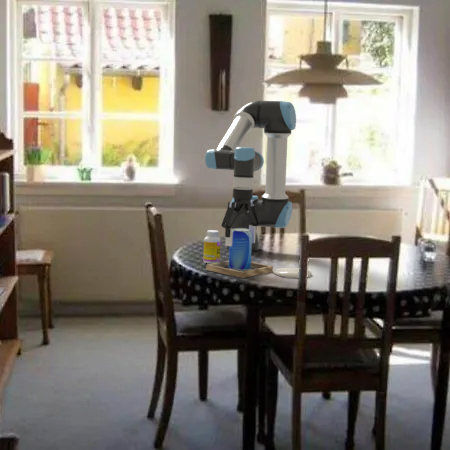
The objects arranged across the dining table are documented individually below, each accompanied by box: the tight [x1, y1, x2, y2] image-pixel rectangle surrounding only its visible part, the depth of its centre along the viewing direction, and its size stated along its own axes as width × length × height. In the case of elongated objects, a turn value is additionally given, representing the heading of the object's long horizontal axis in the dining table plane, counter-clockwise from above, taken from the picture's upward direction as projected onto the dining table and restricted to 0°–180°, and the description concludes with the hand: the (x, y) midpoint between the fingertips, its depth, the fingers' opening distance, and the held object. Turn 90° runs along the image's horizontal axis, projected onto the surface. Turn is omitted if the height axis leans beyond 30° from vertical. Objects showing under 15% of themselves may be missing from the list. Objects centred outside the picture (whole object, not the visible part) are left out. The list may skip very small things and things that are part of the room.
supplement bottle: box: [202, 229, 222, 265], centre depth 314 cm, size 7×7×13 cm
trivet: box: [273, 267, 312, 279], centre depth 299 cm, size 14×14×1 cm
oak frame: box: [205, 260, 274, 279], centre depth 302 cm, size 18×18×2 cm
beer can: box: [228, 228, 252, 272], centre depth 301 cm, size 8×8×16 cm
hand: (240, 244), depth 300 cm, fingers open, 13 cm apart
